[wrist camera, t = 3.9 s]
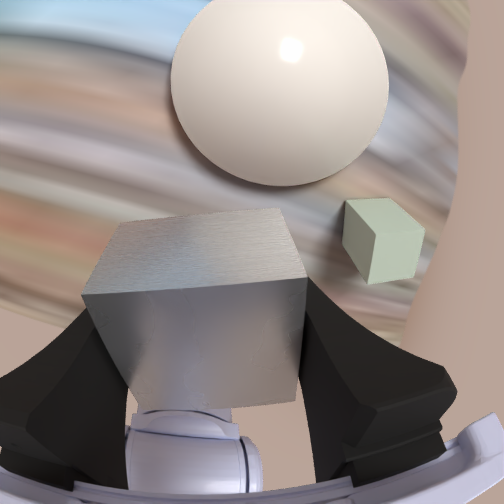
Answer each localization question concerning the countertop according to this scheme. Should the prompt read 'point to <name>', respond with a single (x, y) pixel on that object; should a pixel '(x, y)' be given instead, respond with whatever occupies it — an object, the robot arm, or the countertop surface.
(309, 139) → the cream round disc
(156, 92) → the countertop surface
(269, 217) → the grey square block
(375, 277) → the block
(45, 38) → the countertop surface
